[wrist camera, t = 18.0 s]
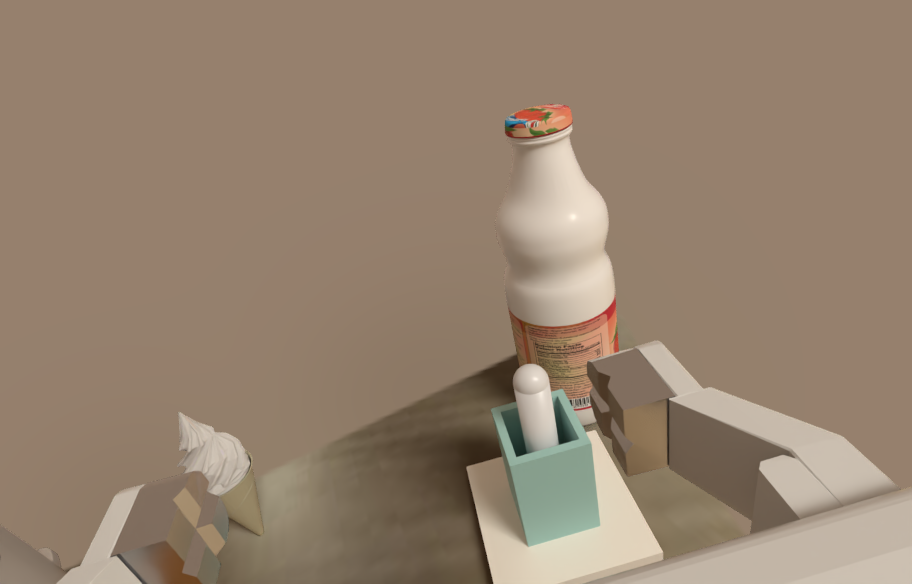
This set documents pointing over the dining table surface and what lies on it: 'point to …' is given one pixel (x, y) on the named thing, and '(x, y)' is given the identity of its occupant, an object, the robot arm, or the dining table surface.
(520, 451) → the sleeve
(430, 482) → the dining table surface
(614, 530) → the post stand
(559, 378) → the fruit juice
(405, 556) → the dining table surface
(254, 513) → the ice cream cone
